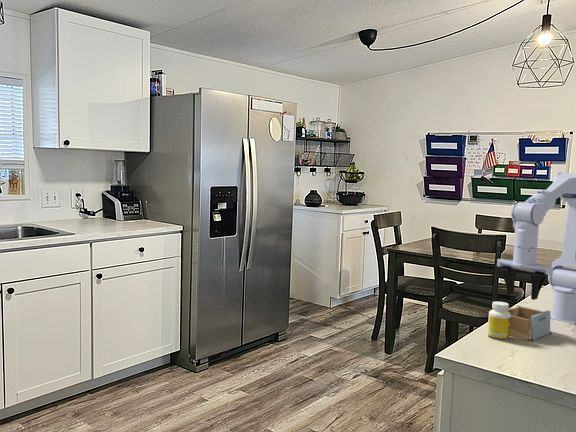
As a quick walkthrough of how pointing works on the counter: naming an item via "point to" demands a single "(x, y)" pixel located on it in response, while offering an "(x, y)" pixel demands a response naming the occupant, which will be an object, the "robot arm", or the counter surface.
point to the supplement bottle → (499, 322)
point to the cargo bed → (521, 322)
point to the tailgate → (540, 325)
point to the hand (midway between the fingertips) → (522, 296)
